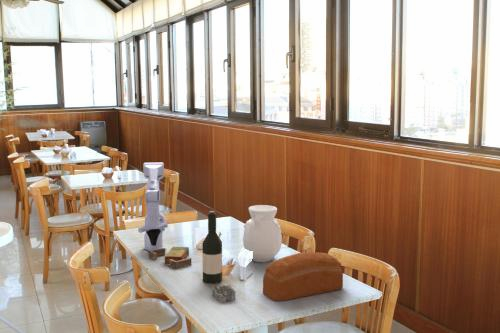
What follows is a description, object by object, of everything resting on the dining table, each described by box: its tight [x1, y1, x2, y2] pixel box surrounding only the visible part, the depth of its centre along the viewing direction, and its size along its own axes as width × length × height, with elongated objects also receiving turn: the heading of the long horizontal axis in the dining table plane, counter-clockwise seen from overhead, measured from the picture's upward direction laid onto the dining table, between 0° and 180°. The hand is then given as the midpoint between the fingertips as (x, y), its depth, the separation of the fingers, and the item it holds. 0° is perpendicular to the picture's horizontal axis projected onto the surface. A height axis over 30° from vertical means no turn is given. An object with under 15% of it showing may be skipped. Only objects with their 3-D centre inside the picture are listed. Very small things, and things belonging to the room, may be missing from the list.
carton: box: [164, 246, 190, 265], centre depth 274 cm, size 8×16×4 cm, turn 174°
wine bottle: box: [201, 210, 223, 285], centre depth 243 cm, size 8×8×30 cm
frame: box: [148, 247, 192, 270], centre depth 271 cm, size 22×9×3 cm, turn 43°
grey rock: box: [211, 284, 237, 303], centre depth 227 cm, size 11×8×4 cm
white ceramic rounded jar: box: [242, 204, 283, 263], centre depth 272 cm, size 19×18×25 cm
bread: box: [262, 251, 344, 302], centre depth 233 cm, size 14×33×16 cm, turn 117°
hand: (153, 245), depth 264 cm, fingers closed
